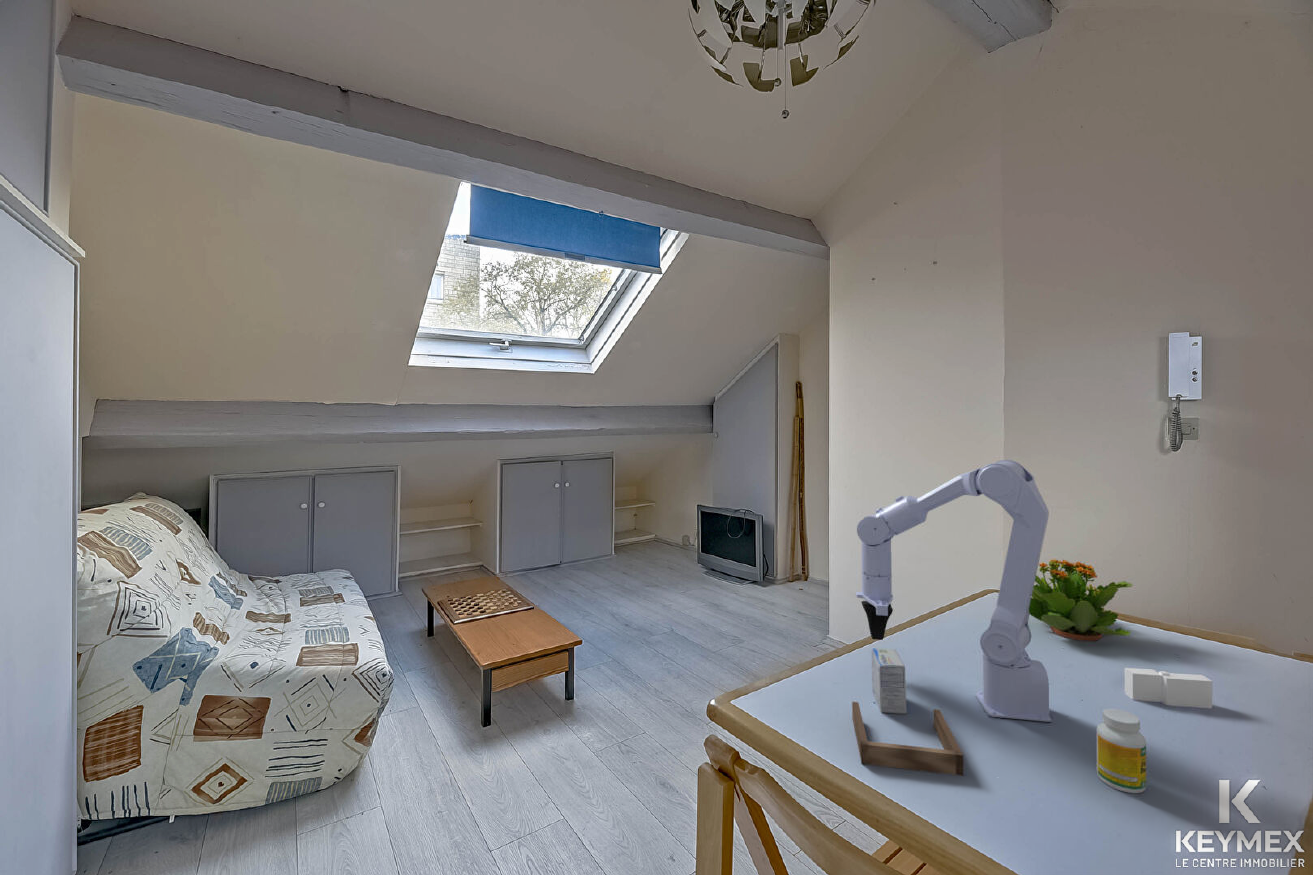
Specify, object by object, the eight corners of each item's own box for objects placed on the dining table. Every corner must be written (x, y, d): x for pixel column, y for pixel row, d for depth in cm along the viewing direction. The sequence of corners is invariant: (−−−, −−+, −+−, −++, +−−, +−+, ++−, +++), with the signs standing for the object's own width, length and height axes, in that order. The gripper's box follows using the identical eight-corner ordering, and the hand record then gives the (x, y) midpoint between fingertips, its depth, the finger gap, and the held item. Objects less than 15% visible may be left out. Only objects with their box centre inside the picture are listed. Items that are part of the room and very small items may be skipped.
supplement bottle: (1094, 765, 81) (1094, 702, 81) (1142, 777, 79) (1142, 711, 78) (1099, 786, 77) (1099, 718, 77) (1150, 799, 74) (1150, 729, 74)
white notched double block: (1225, 706, 98) (1225, 674, 98) (1217, 730, 91) (1217, 696, 91) (1117, 677, 109) (1117, 649, 109) (1102, 696, 102) (1102, 666, 102)
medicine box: (906, 715, 97) (906, 666, 96) (879, 713, 98) (879, 664, 97) (896, 693, 104) (896, 648, 104) (871, 691, 105) (871, 646, 105)
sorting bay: (940, 727, 92) (940, 709, 92) (963, 775, 80) (963, 755, 80) (852, 718, 96) (852, 701, 96) (861, 763, 83) (861, 743, 83)
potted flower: (1174, 656, 118) (1174, 575, 117) (1063, 658, 118) (1062, 577, 117) (1085, 615, 143) (1085, 548, 142) (993, 617, 143) (992, 550, 142)
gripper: (852, 563, 121) (852, 624, 121) (860, 582, 107) (860, 650, 107) (886, 564, 119) (887, 626, 120) (899, 583, 105) (899, 653, 106)
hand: (877, 638), depth 113 cm, fingers closed
